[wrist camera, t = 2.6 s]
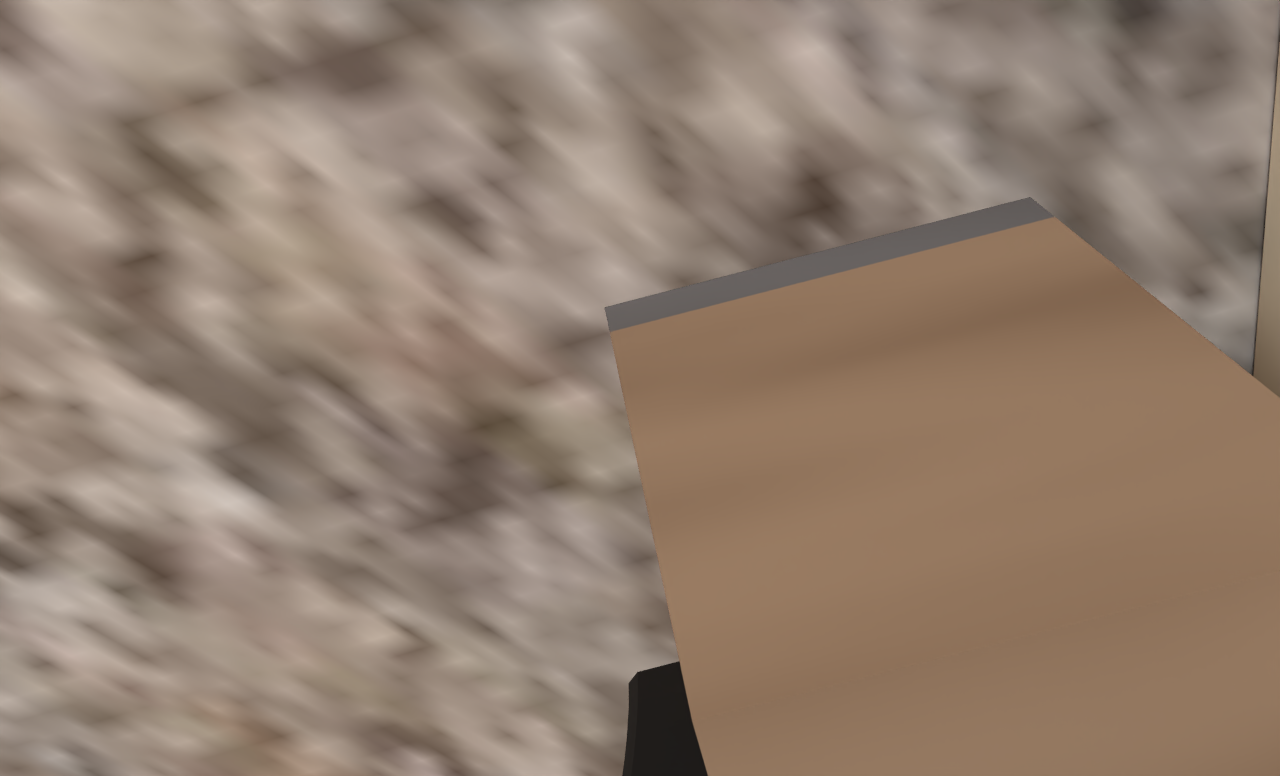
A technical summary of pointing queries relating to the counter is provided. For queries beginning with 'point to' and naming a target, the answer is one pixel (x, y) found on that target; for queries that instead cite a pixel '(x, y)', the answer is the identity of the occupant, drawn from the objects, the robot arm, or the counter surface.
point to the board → (1271, 270)
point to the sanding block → (958, 512)
